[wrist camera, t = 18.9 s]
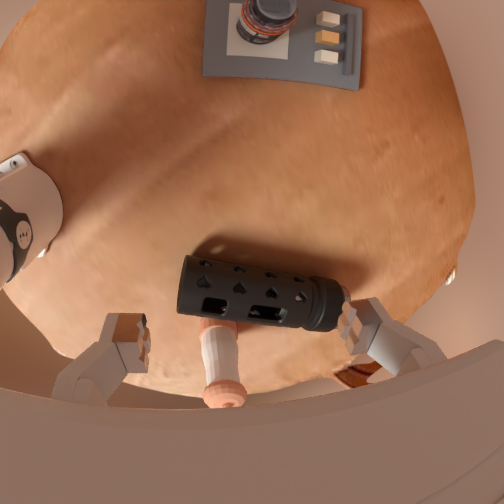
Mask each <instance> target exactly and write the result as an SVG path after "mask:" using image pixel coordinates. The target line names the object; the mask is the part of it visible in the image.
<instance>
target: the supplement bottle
mask: <svg viewBox="0 0 504 504" xmlns="http://www.w3.org/2000/svg"><path fill="white" fill-rule="evenodd" d="M298 14H299V11H298V6H297V1H296V0H245V1H244V3H243V5H242V8H241V10H240V13H239V15H238V17H237V21H236V29H237V32H238V34H239V35H240V36H241V37H242V38H243V39H244V40H245V41H247V42H249V43H252V44H256V45H263V44H268V43H270V42H272V41H274V40H275V39H277V38H278V37H279V36H281V35H282V34H283V33H285V32H286V31H287V30H289V29H290V28H291V27H292V26H293V25H294V24H295V23H296V21H297V19H298Z"/></svg>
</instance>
